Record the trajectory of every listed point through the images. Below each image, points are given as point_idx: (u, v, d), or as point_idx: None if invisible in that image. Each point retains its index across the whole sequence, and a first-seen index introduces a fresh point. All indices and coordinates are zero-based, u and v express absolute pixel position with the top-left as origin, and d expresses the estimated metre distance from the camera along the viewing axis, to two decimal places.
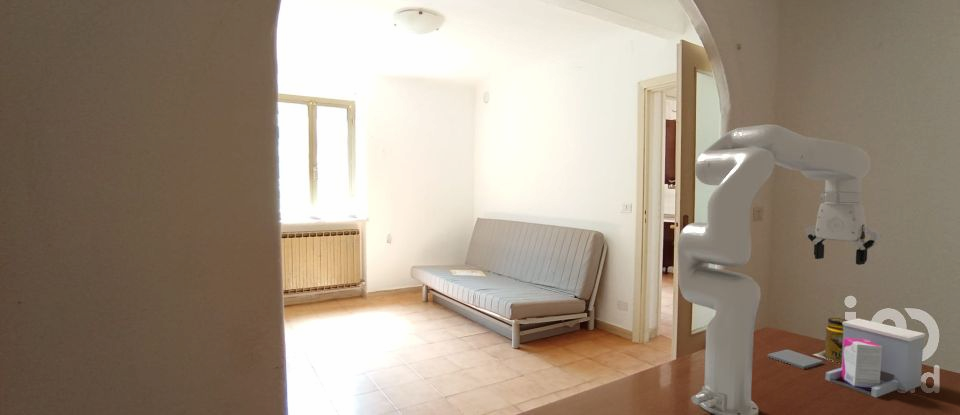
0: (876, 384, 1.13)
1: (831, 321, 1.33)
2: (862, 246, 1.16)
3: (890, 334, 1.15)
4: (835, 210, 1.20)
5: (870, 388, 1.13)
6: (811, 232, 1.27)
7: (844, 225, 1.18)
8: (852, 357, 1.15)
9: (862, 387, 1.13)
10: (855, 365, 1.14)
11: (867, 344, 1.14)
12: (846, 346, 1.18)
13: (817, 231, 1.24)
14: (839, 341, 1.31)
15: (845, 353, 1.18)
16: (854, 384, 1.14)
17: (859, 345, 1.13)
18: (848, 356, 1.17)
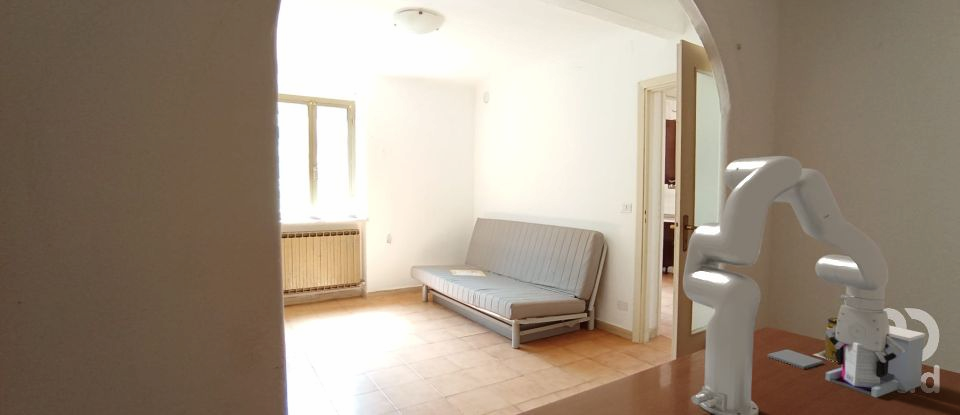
0: (876, 384, 1.13)
1: (831, 321, 1.33)
2: (883, 359, 1.10)
3: (890, 334, 1.15)
4: (857, 316, 1.14)
5: (870, 388, 1.13)
6: (832, 334, 1.21)
7: (867, 333, 1.12)
8: (852, 357, 1.15)
9: (862, 387, 1.13)
10: (855, 364, 1.14)
11: None
12: (846, 346, 1.18)
13: (837, 334, 1.18)
14: None
15: (845, 353, 1.18)
16: (854, 384, 1.14)
17: (859, 345, 1.13)
18: (848, 356, 1.17)
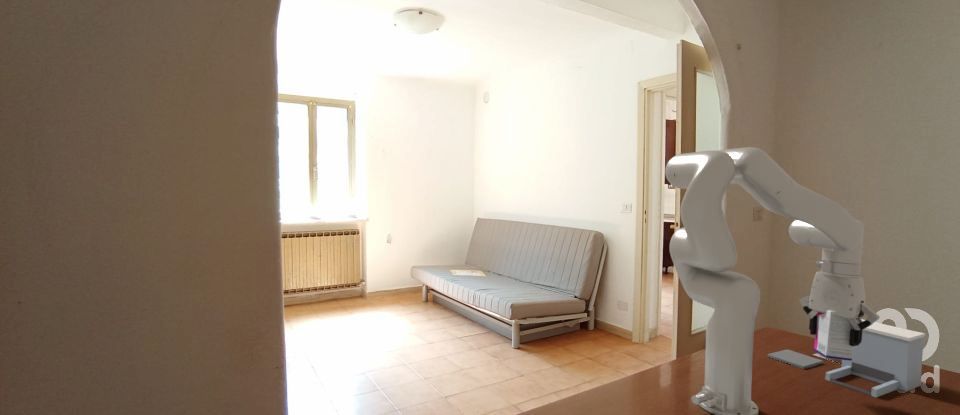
0: (849, 354, 1.07)
1: None
2: (857, 326, 1.05)
3: (890, 334, 1.15)
4: (832, 281, 1.08)
5: (842, 358, 1.07)
6: (806, 303, 1.15)
7: (841, 300, 1.06)
8: (825, 325, 1.09)
9: (834, 357, 1.07)
10: (828, 333, 1.08)
11: None
12: (820, 315, 1.12)
13: (811, 302, 1.12)
14: None
15: (818, 322, 1.12)
16: (826, 353, 1.08)
17: (833, 312, 1.07)
18: (821, 325, 1.11)
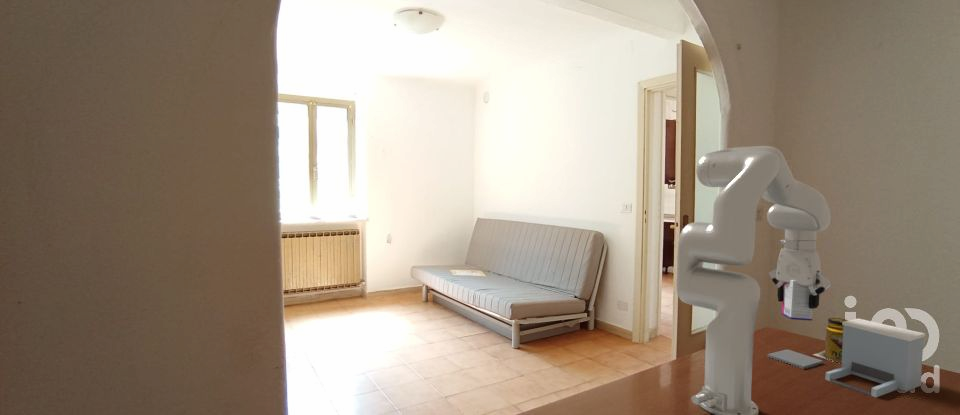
0: (809, 315, 1.28)
1: (831, 321, 1.33)
2: (814, 292, 1.26)
3: (890, 334, 1.15)
4: (793, 256, 1.29)
5: (804, 319, 1.29)
6: (774, 276, 1.37)
7: (801, 271, 1.28)
8: (789, 293, 1.31)
9: (797, 318, 1.29)
10: (791, 299, 1.29)
11: None
12: (785, 284, 1.33)
13: (778, 274, 1.34)
14: (838, 341, 1.31)
15: (784, 290, 1.33)
16: (791, 316, 1.29)
17: (795, 281, 1.29)
18: (786, 292, 1.32)
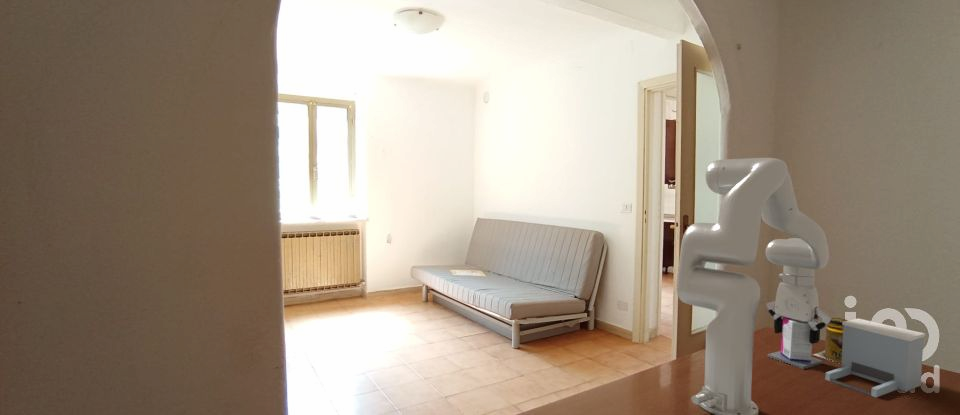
0: (808, 356, 1.29)
1: (831, 321, 1.33)
2: (815, 327, 1.26)
3: (890, 334, 1.15)
4: (792, 291, 1.30)
5: (803, 360, 1.29)
6: (771, 307, 1.38)
7: (799, 306, 1.28)
8: (788, 333, 1.31)
9: (796, 359, 1.29)
10: (791, 340, 1.29)
11: (801, 322, 1.29)
12: (784, 324, 1.33)
13: (776, 308, 1.34)
14: (839, 341, 1.31)
15: (783, 330, 1.34)
16: (790, 357, 1.30)
17: (794, 323, 1.29)
18: (785, 333, 1.32)
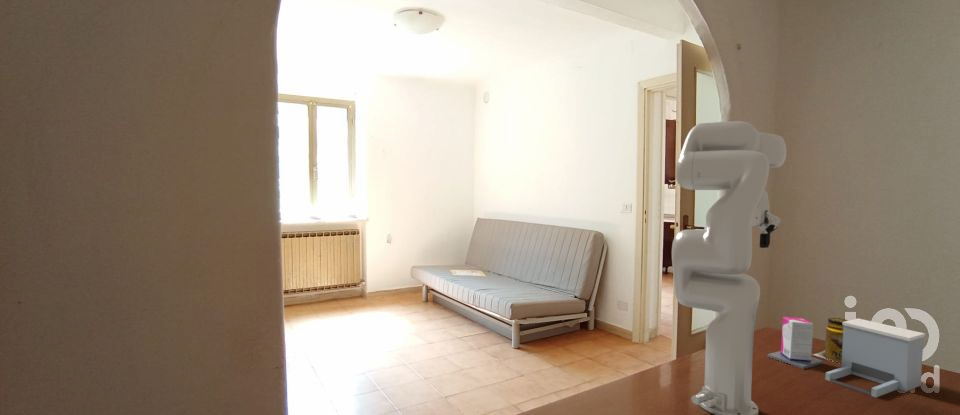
0: (808, 356, 1.29)
1: (831, 321, 1.33)
2: (765, 230, 1.23)
3: (890, 334, 1.15)
4: None
5: (803, 360, 1.29)
6: None
7: None
8: (788, 333, 1.31)
9: (796, 359, 1.29)
10: (791, 340, 1.29)
11: (801, 322, 1.29)
12: (784, 324, 1.33)
13: None
14: (838, 341, 1.31)
15: (783, 330, 1.34)
16: (790, 357, 1.30)
17: (794, 323, 1.29)
18: (785, 333, 1.32)
